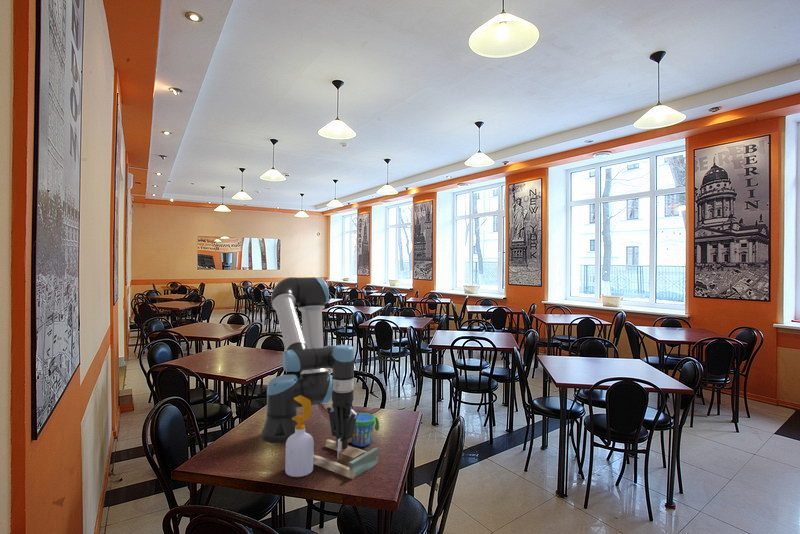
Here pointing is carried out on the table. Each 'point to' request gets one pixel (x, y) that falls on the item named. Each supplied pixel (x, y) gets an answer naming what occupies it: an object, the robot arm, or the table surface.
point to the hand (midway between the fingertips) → (341, 457)
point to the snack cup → (364, 429)
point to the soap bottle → (300, 444)
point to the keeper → (349, 455)
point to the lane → (354, 467)
